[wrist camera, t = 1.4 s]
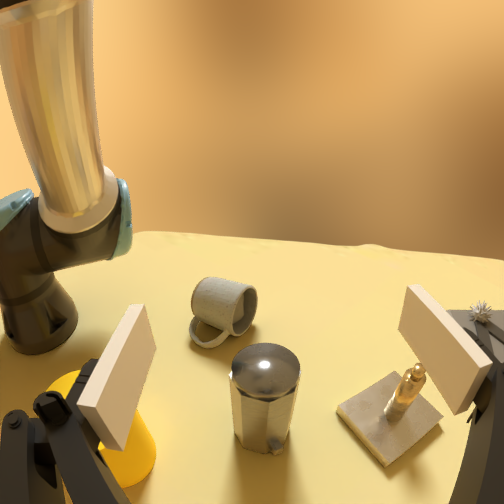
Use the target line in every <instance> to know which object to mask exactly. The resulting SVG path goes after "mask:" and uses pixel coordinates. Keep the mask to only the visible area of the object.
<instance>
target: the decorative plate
mask: <svg viewBox="0 0 504 504" xmlns="http://www.w3.org/2000/svg"><path fill="white" fill-rule="evenodd" d="M484 302H485V301H484ZM485 304H486V305H487V303H485ZM485 304H484V303H483V305H482V307H481V305H480V300H479V306H478V303H477V308H476V307H475V306H474V305H473V304H472V306H473V307H474V309H473V308H472V307H471V309H472V310H446V312H447V313H448V314H449V315H450V316H451V317H452V318H453V319H454V320H455V321H456V322H457V323H458V324H459V325H460V326H461V327H462V328H463V327H465V328H467V329H469V330H470V331H472V332H473V333H474V334H475V335H476V336H477V337H478V338H479V340H481V341H482V342H483V343H484V346H486V347H487V348H488V349H489V350H490V351H491V352H492V353H493V354H494V356H495V357H496V358H497V359H498V360H499V361H500V362H501V363H504V310H491V309H490V310H488V309H489V308H490V307H491V306H490V307H488V308H486V305H485ZM485 308H486V309H485Z"/></svg>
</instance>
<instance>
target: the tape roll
mask: <svg viewBox="0 0 504 504" xmlns="http://www.w3.org/2000/svg"><path fill="white" fill-rule="evenodd" d="M80 371H81V370H77V371H73V372H70V373H68V374H65V375H63V376H62V377H60V378H58V379H57V380H56V381H54V382H53V383H52V384H51V385H50V386H49V387H48V389H47V390H46V391H45V392H47V391H57V392H59V393H61V395H62V396H63V398H64V399H65V398H66V397H67V395H68V393H69V391H70V389H71V387H72V385H73V383H75V380H76V378H77V376H79V373H80ZM38 418H39V417H38ZM98 449H99V450H100V452H101V454H102V456H103V457H104V459H105V461H106V463H107V465H108V467H109V468H110V470H111V472H112V474H113V475H114V477H115V479H116V480H117V482H118V484H119V485H120V487H121V488H125V487H129V486H132V485H135V484H137V483H138V482H140V481H142V480H143V479H144V478H145V477H146V476H147V475H148V474H149V473H150V471H151V469H152V468H153V465H154V463H155V459H156V446H155V442H154V440H153V438H152V436H151V434H150V432H149V431H148V429H147V427H146V425H145V423H144V422H143V420H142V418H141V416H140V414H139V412H138V410H137V409H136V411H135V414H134V417H133V421H132V424H131V427H130V431H129V434H128V437H127V441H126V444H125V448H124V451H117V450H111V449H106V448H105V446H104V445H103V444H102V442H101V441H100V443H99V446H98Z"/></svg>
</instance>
